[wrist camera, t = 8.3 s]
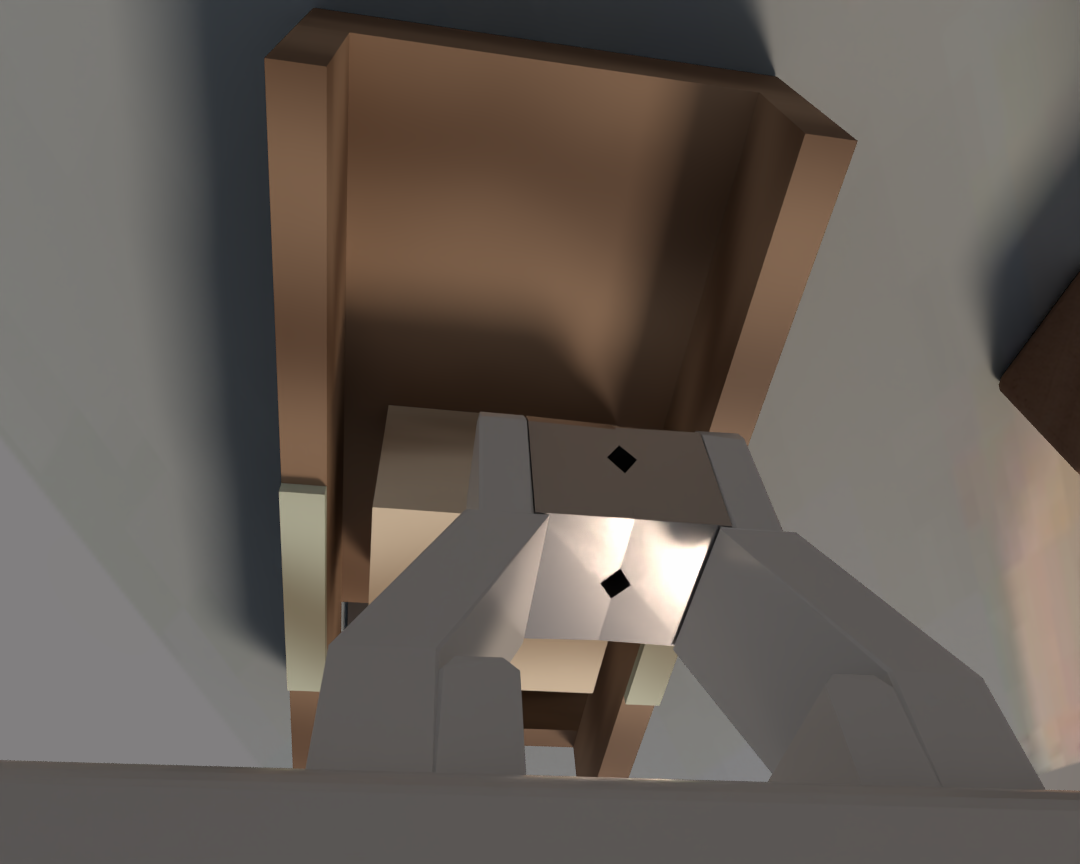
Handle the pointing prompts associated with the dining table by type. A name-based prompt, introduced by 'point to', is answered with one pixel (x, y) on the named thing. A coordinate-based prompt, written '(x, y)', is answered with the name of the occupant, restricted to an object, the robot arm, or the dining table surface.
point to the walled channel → (517, 283)
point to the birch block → (430, 507)
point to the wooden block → (1051, 377)
